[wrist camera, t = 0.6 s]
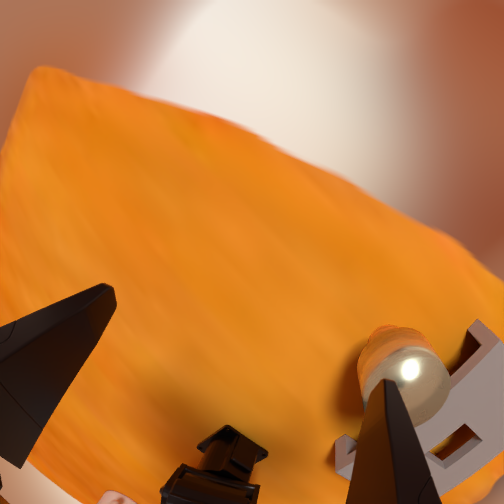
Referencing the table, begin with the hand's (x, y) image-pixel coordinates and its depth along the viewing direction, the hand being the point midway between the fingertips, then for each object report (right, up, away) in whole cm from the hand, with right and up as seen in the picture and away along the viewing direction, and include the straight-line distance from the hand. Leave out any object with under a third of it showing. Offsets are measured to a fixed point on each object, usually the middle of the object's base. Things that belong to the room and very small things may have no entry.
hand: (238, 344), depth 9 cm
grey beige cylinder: (+13, -6, +17) cm, 22 cm away
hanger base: (+22, -16, +18) cm, 33 cm away
